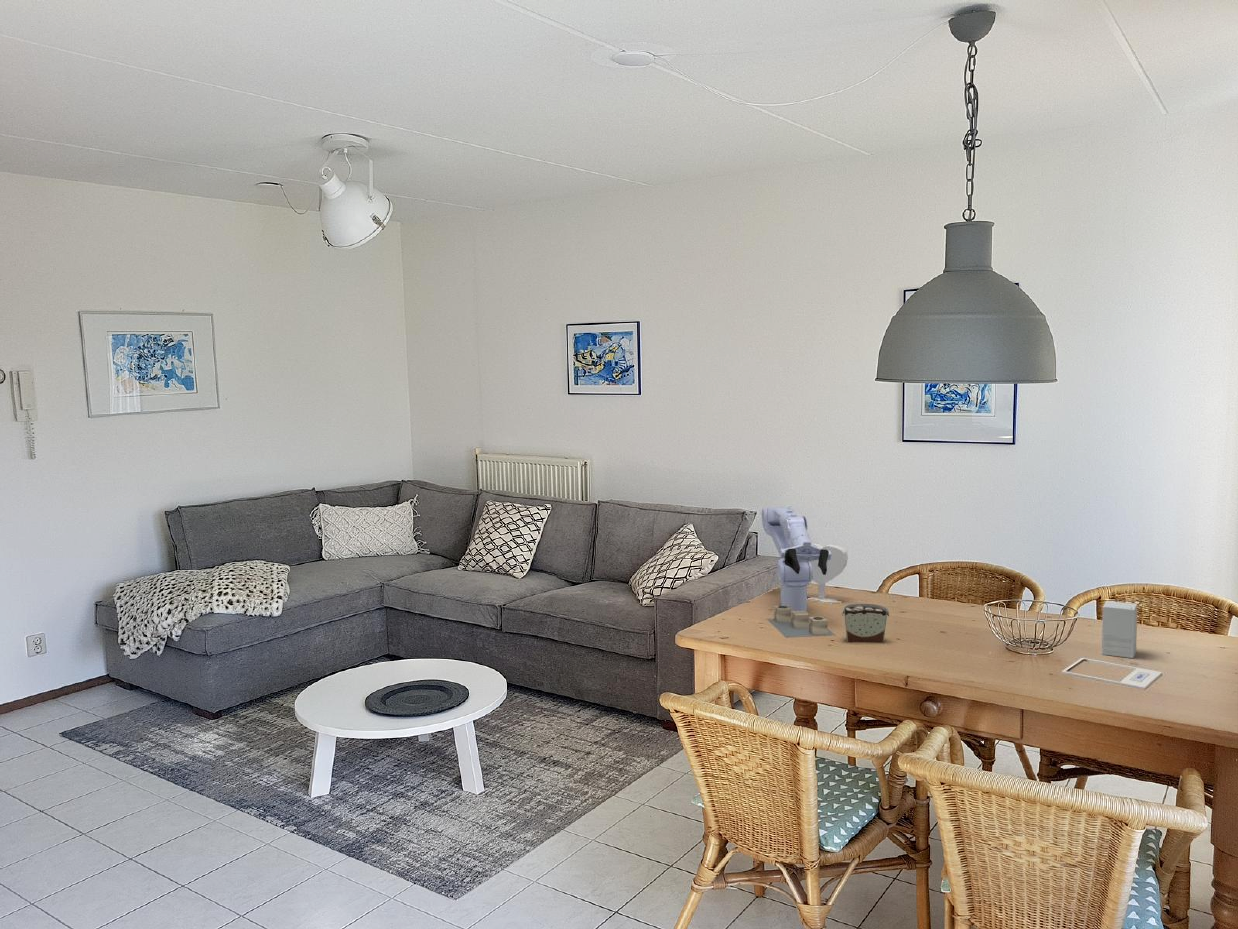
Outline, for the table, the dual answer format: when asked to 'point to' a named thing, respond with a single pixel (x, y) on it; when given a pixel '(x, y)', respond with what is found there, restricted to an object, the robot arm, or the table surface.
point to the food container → (865, 622)
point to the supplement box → (1119, 629)
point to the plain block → (799, 619)
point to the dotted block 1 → (782, 614)
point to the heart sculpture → (828, 569)
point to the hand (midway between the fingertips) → (811, 571)
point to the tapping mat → (794, 630)
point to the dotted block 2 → (818, 625)
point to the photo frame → (1134, 679)
